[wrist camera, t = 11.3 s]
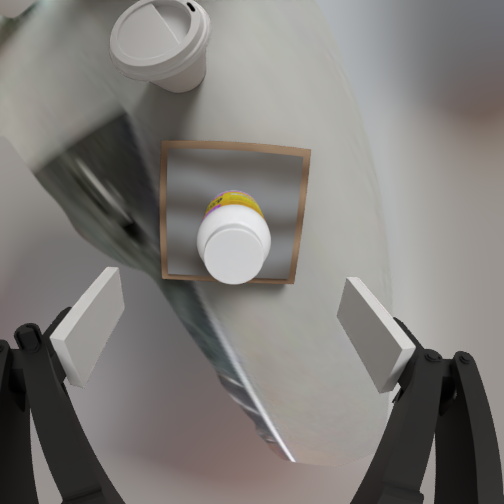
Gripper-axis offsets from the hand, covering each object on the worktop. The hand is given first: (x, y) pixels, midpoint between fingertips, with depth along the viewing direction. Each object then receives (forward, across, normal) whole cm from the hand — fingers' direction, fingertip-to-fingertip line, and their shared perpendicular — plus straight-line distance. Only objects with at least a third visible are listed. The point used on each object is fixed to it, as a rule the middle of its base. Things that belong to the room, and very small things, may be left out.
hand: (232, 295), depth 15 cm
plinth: (+23, 0, 0) cm, 23 cm away
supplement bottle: (+19, 0, 0) cm, 19 cm away
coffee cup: (+24, -8, +18) cm, 31 cm away
